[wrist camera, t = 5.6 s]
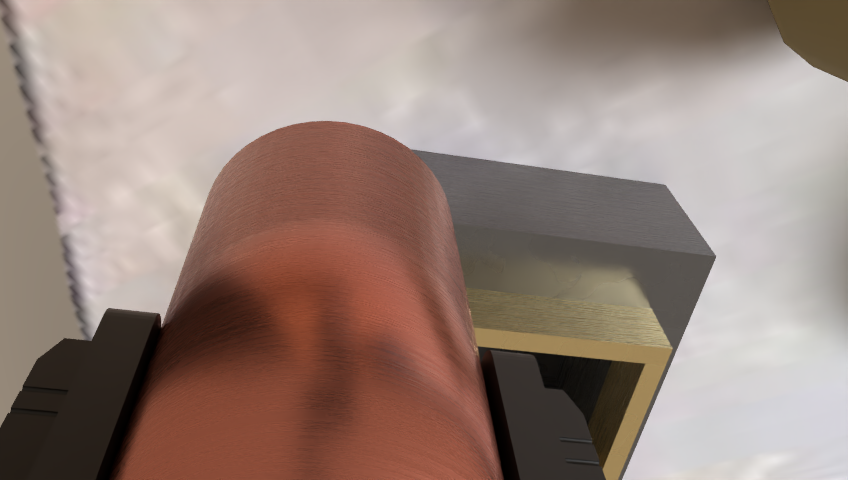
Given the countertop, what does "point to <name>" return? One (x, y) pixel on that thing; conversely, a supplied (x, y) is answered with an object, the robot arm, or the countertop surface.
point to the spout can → (317, 326)
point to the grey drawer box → (578, 283)
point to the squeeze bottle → (815, 32)
